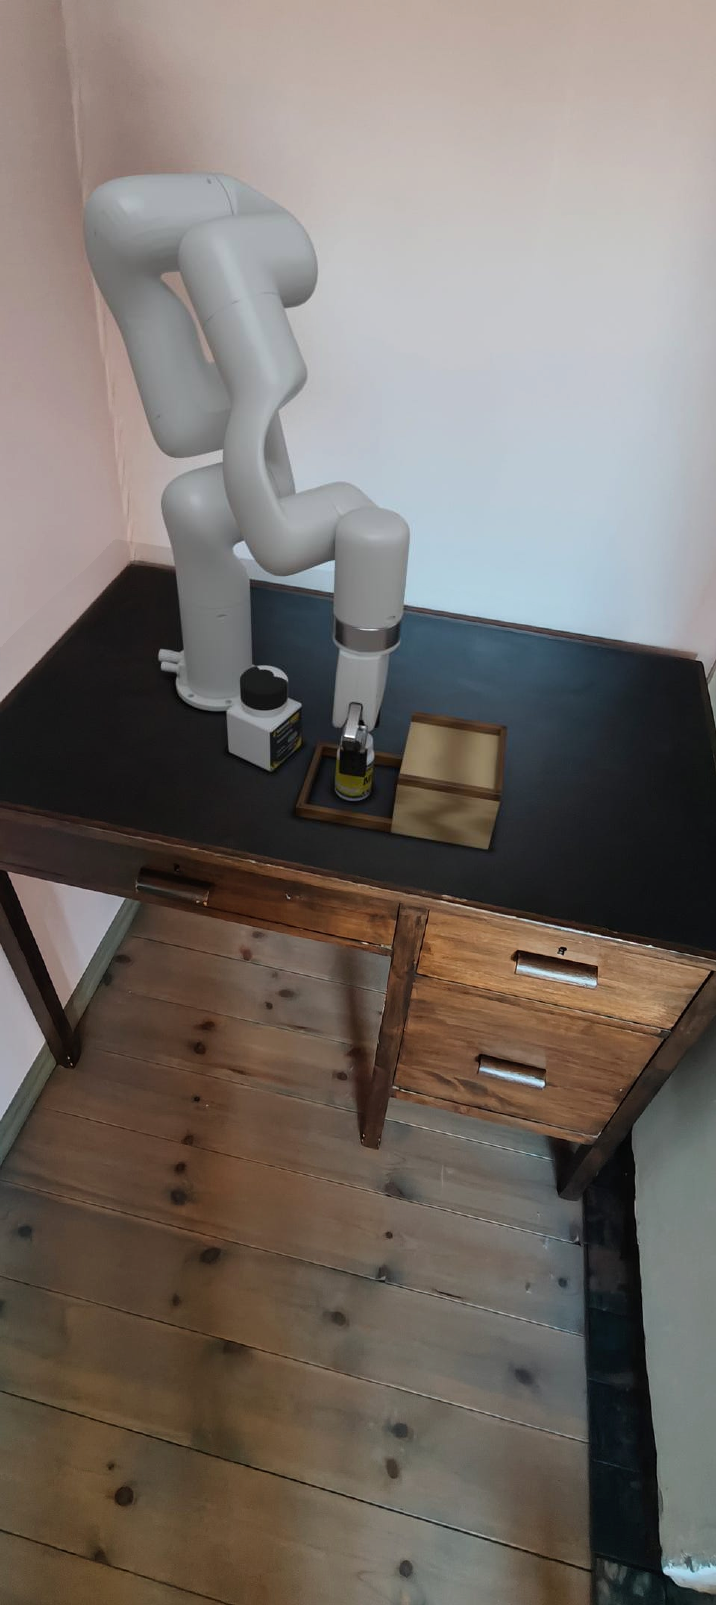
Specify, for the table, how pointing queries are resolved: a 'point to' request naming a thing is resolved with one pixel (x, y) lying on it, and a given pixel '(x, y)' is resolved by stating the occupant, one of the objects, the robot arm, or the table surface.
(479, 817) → the shelf rack
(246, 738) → the medicine bottle
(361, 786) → the supplement bottle
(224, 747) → the table surface
